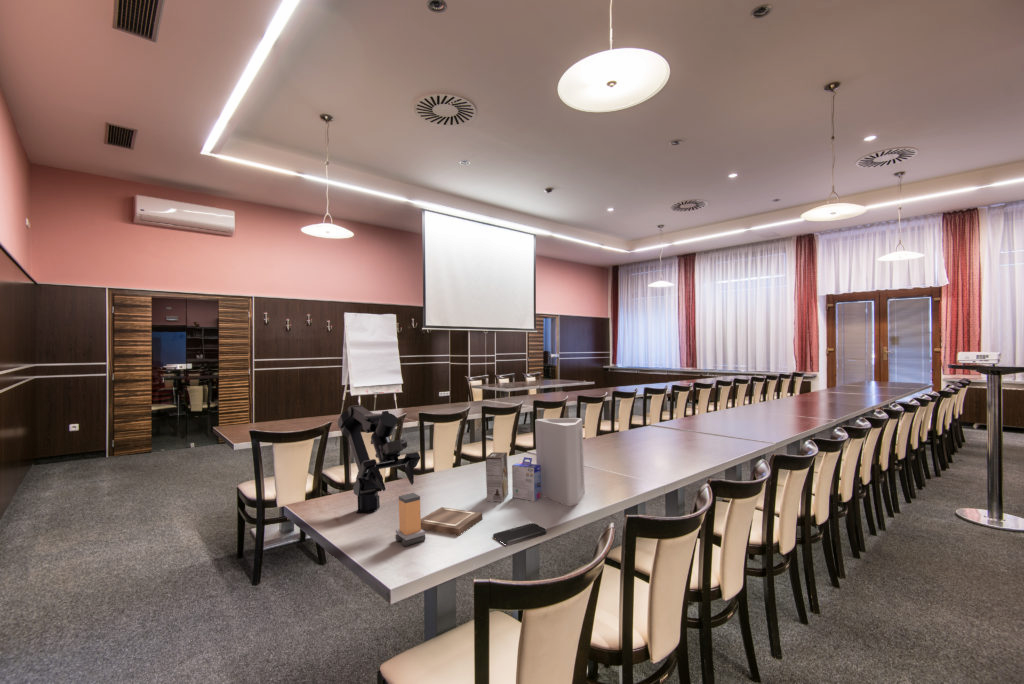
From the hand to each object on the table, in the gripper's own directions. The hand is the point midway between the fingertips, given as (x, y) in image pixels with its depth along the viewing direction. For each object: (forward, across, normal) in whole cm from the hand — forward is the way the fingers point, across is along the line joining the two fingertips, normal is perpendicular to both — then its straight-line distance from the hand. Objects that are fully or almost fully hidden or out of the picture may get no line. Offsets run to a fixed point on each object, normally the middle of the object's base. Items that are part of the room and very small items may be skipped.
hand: (398, 487), depth 139 cm
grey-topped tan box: (+16, 0, +4) cm, 16 cm away
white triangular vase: (+18, +62, +3) cm, 64 cm away
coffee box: (+6, +41, +14) cm, 44 cm away
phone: (+29, +26, -8) cm, 40 cm away
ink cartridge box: (+11, +50, +9) cm, 52 cm away
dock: (+13, +15, +7) cm, 21 cm away
